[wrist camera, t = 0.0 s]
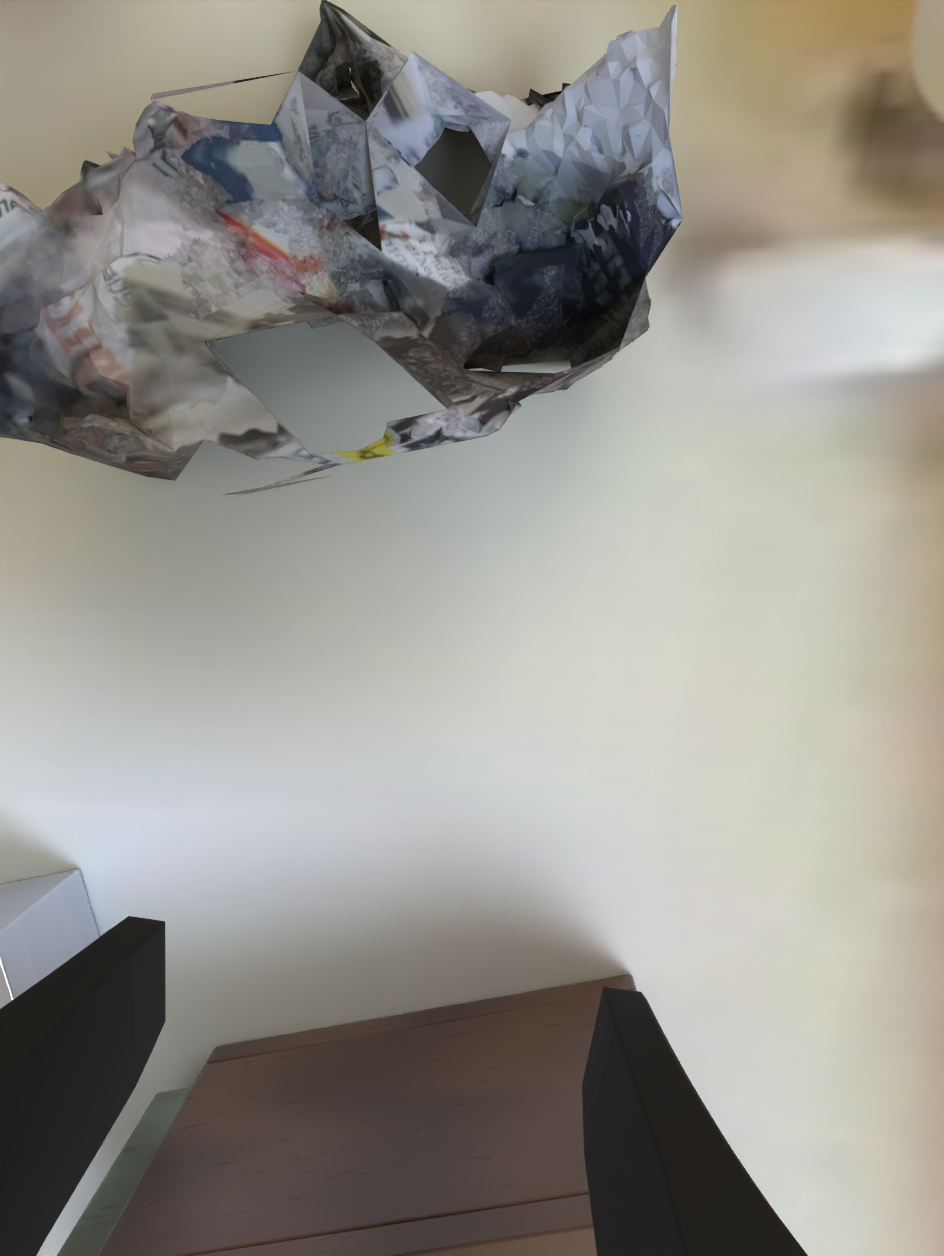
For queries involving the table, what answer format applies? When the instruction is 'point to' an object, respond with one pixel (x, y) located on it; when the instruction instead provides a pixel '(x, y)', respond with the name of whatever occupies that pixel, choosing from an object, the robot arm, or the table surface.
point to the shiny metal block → (41, 928)
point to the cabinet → (383, 1139)
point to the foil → (338, 252)
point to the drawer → (124, 1176)
